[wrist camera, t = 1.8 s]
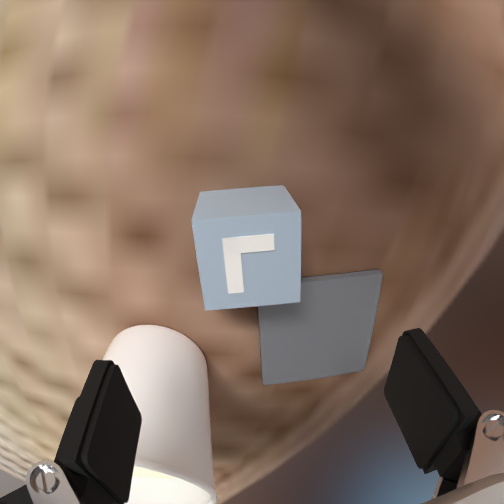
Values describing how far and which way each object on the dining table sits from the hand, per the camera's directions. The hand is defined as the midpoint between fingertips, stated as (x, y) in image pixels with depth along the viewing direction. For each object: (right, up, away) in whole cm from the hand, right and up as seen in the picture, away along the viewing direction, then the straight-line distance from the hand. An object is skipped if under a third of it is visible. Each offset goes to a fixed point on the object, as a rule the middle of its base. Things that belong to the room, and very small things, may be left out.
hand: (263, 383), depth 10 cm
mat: (+5, -2, +14) cm, 15 cm away
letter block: (-1, +6, +10) cm, 12 cm away
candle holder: (-8, -5, +15) cm, 18 cm away
